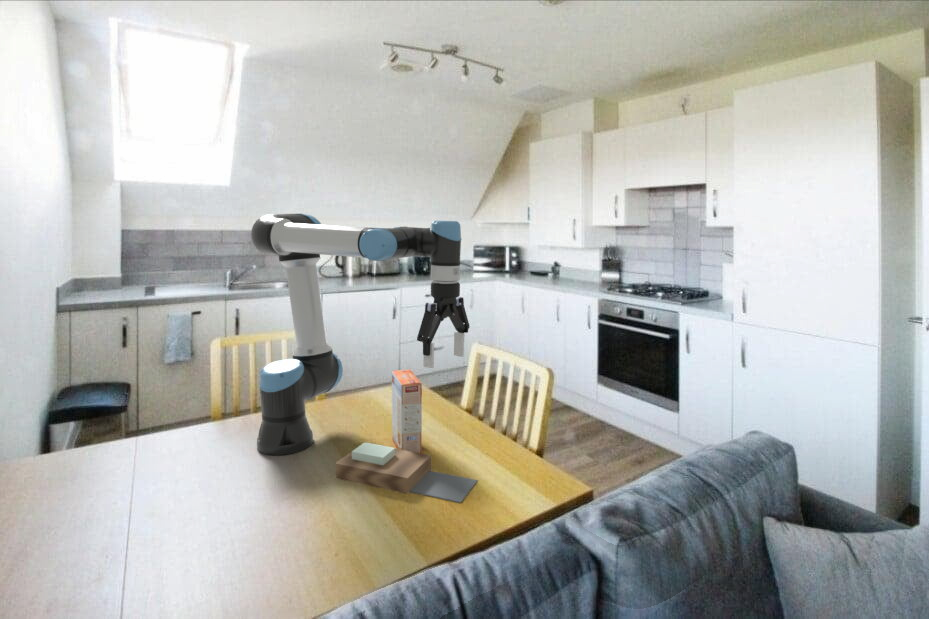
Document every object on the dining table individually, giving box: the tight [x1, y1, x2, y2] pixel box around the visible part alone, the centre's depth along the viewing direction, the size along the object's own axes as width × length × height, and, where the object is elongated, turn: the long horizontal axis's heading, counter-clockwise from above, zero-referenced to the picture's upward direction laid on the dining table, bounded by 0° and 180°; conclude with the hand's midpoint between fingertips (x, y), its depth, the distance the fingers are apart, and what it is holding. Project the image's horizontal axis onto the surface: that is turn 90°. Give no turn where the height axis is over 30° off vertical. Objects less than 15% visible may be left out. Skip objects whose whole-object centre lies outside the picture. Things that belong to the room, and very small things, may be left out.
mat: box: [409, 470, 478, 504], centre depth 129 cm, size 13×11×1 cm
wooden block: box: [334, 443, 432, 495], centre depth 135 cm, size 20×13×4 cm, turn 69°
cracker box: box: [391, 369, 423, 454], centre depth 148 cm, size 14×6×21 cm, turn 18°
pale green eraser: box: [351, 442, 396, 465], centre depth 135 cm, size 9×6×2 cm, turn 69°
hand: (444, 361), depth 141 cm, fingers open, 13 cm apart
